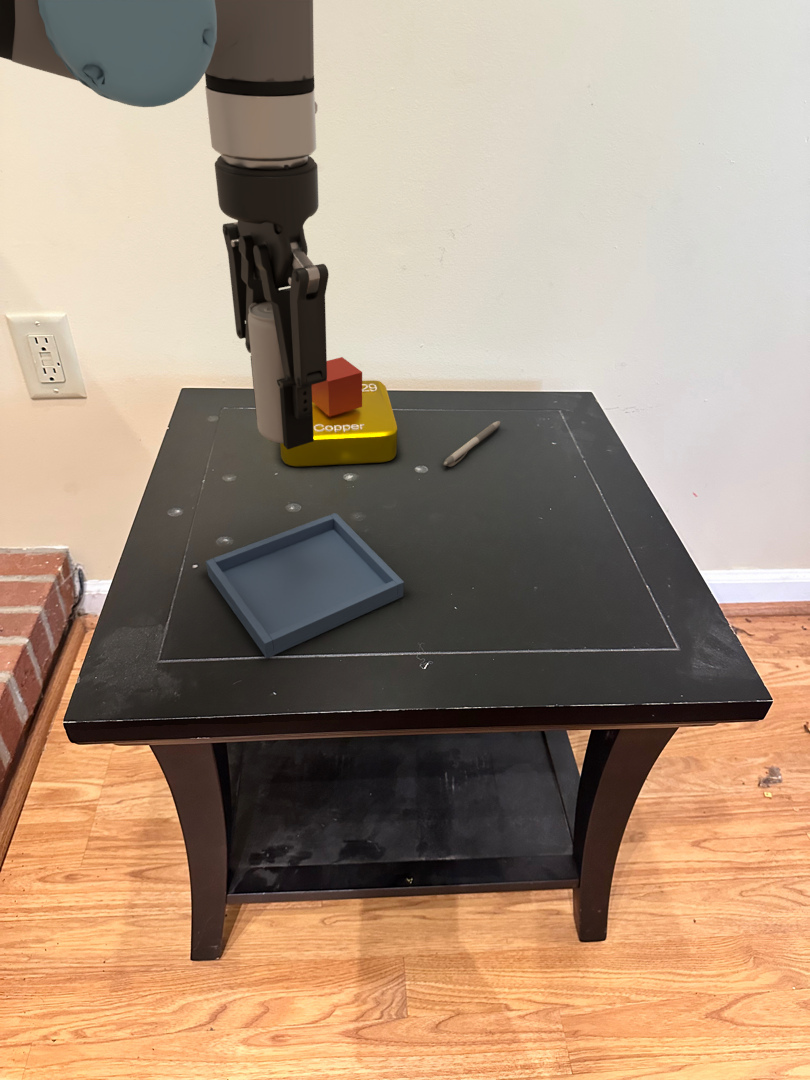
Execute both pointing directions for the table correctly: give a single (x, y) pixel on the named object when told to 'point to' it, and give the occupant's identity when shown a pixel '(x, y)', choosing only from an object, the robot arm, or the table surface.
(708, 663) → the table surface
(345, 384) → the red block
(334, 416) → the element tile
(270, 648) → the slate tray
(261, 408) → the beverage can
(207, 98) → the robot arm
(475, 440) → the pen
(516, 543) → the table surface
